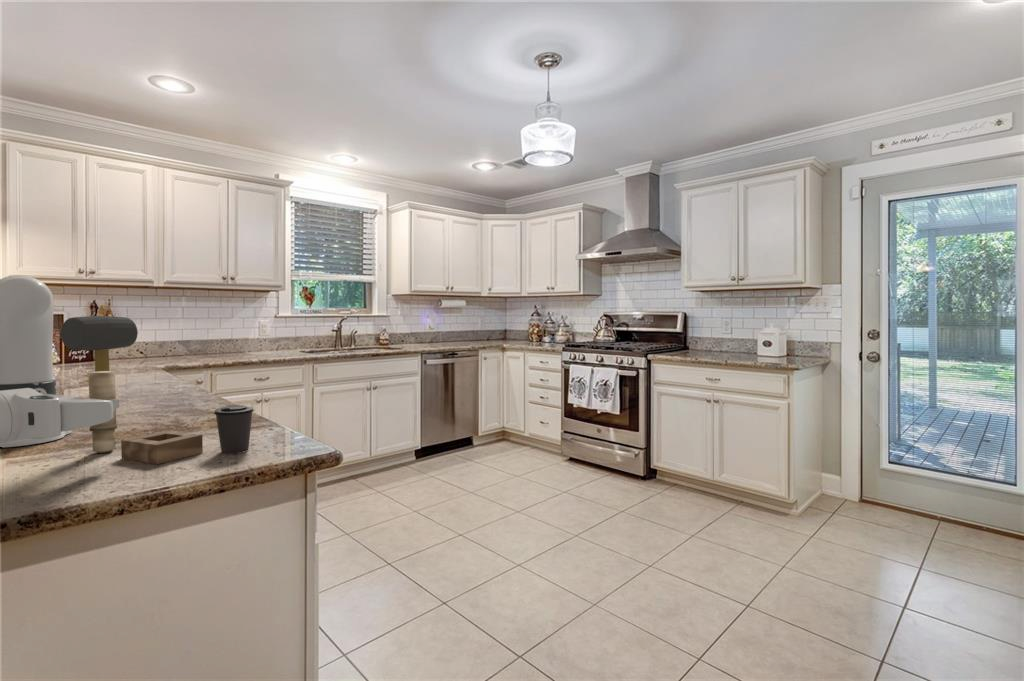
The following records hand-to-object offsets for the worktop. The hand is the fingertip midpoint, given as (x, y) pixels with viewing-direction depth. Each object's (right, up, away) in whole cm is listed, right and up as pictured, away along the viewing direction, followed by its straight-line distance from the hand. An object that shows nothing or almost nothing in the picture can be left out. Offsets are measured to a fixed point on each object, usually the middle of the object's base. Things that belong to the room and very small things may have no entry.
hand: (107, 402), depth 101 cm
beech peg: (0, -9, 0) cm, 9 cm away
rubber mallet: (-11, -13, +14) cm, 22 cm away
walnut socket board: (+3, -13, +11) cm, 17 cm away
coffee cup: (+16, -13, +15) cm, 26 cm away
